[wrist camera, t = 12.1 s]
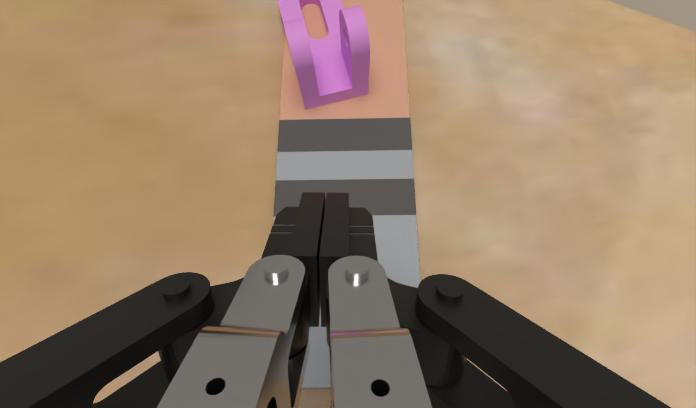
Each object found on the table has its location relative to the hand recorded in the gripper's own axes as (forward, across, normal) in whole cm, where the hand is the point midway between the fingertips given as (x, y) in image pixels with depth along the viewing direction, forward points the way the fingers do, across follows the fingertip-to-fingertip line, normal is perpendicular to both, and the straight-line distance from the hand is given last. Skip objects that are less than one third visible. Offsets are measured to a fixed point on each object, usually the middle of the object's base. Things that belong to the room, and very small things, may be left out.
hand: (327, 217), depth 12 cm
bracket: (+26, -2, +3) cm, 26 cm away
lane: (+19, 0, -3) cm, 20 cm away
